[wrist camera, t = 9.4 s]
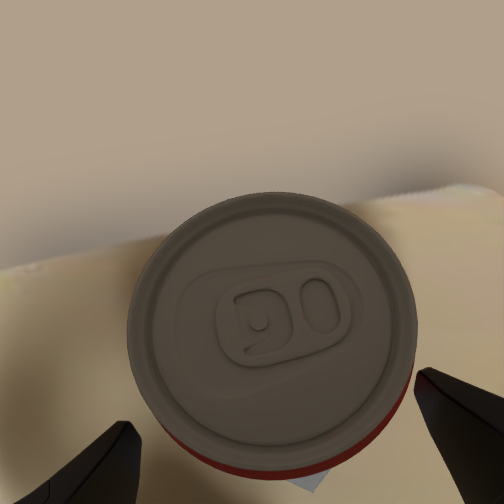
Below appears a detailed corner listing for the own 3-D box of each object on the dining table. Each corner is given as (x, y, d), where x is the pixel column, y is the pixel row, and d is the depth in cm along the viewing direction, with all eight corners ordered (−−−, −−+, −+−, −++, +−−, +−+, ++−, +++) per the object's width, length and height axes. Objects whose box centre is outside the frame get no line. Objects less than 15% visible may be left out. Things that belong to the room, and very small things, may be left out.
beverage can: (212, 331, 17) (100, 212, 6) (323, 303, 17) (367, 145, 6) (236, 440, 14) (126, 514, 3) (354, 410, 14) (486, 422, 3)
